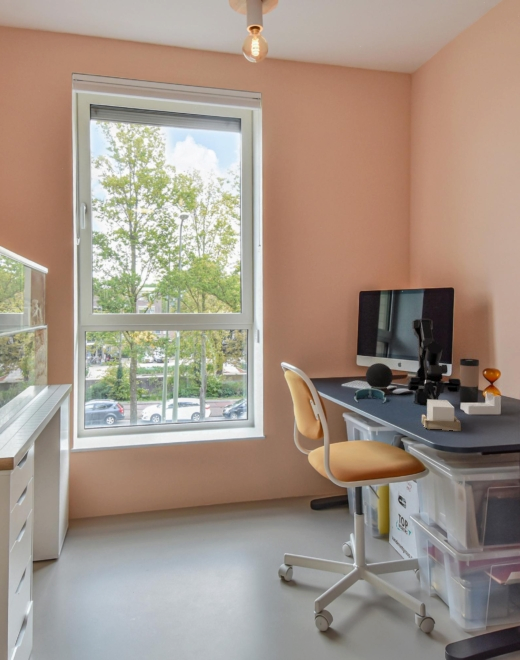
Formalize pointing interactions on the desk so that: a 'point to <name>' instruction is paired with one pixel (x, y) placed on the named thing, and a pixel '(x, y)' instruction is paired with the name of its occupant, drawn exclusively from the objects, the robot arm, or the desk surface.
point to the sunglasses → (365, 392)
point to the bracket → (484, 406)
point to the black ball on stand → (379, 377)
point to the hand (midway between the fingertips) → (436, 402)
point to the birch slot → (442, 424)
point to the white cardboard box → (439, 410)
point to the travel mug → (469, 380)
